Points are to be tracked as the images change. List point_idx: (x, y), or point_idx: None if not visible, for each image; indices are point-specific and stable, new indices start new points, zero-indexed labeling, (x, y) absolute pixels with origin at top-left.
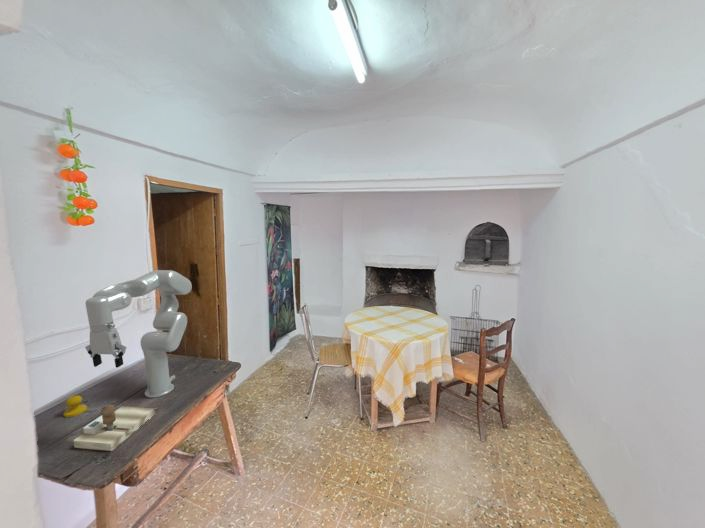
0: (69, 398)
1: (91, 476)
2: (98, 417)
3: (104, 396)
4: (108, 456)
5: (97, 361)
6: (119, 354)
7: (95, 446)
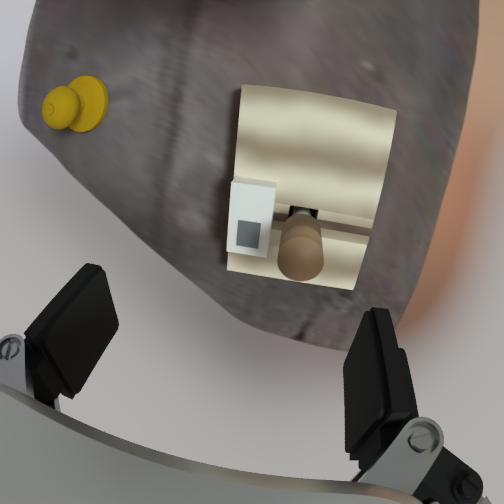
0: (46, 118)
1: (351, 340)
2: (230, 196)
3: (104, 15)
4: (353, 293)
5: (93, 338)
6: (415, 496)
7: None
